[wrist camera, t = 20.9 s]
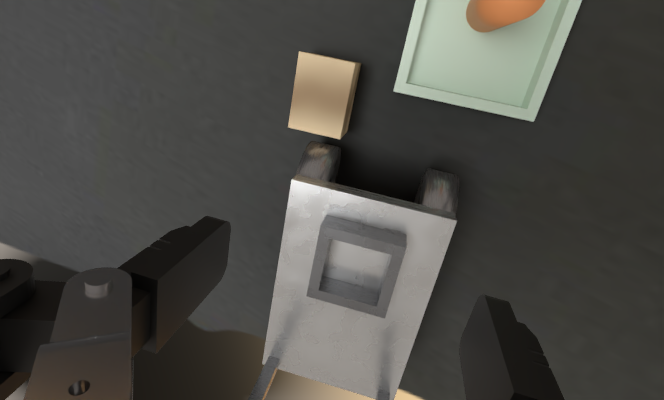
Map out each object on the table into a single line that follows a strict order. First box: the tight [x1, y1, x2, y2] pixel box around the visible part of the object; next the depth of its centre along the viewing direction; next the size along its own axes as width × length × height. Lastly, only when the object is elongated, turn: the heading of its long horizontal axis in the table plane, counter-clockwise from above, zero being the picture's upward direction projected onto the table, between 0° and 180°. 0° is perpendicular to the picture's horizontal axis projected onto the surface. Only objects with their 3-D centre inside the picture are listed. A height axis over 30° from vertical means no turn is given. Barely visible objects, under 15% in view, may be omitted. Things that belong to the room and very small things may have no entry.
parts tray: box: [394, 0, 582, 122], centre depth 28 cm, size 14×11×2 cm
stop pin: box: [466, 0, 545, 32], centre depth 24 cm, size 3×3×9 cm
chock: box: [288, 52, 361, 139], centre depth 31 cm, size 6×4×4 cm
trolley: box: [248, 141, 460, 400], centre depth 28 cm, size 22×12×22 cm, turn 169°
